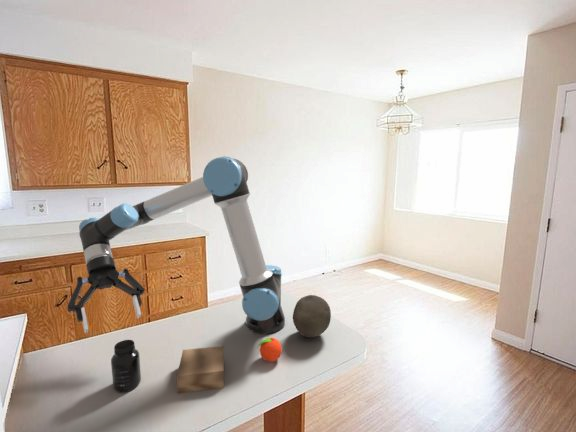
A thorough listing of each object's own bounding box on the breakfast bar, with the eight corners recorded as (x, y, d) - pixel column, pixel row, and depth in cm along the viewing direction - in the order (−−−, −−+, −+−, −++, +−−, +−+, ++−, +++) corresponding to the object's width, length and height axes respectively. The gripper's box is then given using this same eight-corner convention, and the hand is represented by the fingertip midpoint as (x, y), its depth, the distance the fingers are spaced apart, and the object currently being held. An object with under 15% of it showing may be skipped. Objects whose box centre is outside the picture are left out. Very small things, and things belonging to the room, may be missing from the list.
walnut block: (223, 360, 94) (223, 345, 94) (223, 387, 83) (223, 370, 82) (183, 365, 92) (182, 349, 91) (177, 393, 80) (177, 376, 80)
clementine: (259, 369, 91) (260, 347, 90) (253, 356, 97) (253, 335, 96) (284, 363, 94) (285, 342, 93) (277, 351, 100) (277, 331, 99)
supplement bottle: (120, 376, 86) (117, 337, 85) (144, 375, 87) (142, 336, 85) (108, 394, 80) (104, 351, 78) (134, 393, 80) (132, 351, 78)
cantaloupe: (284, 331, 113) (285, 293, 110) (316, 323, 119) (318, 287, 117) (304, 351, 100) (305, 308, 98) (338, 341, 107) (340, 301, 104)
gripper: (139, 260, 107) (155, 315, 98) (50, 275, 91) (60, 343, 82) (143, 249, 103) (161, 306, 94) (50, 262, 86) (61, 333, 77)
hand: (114, 323), depth 88 cm, fingers open, 13 cm apart
